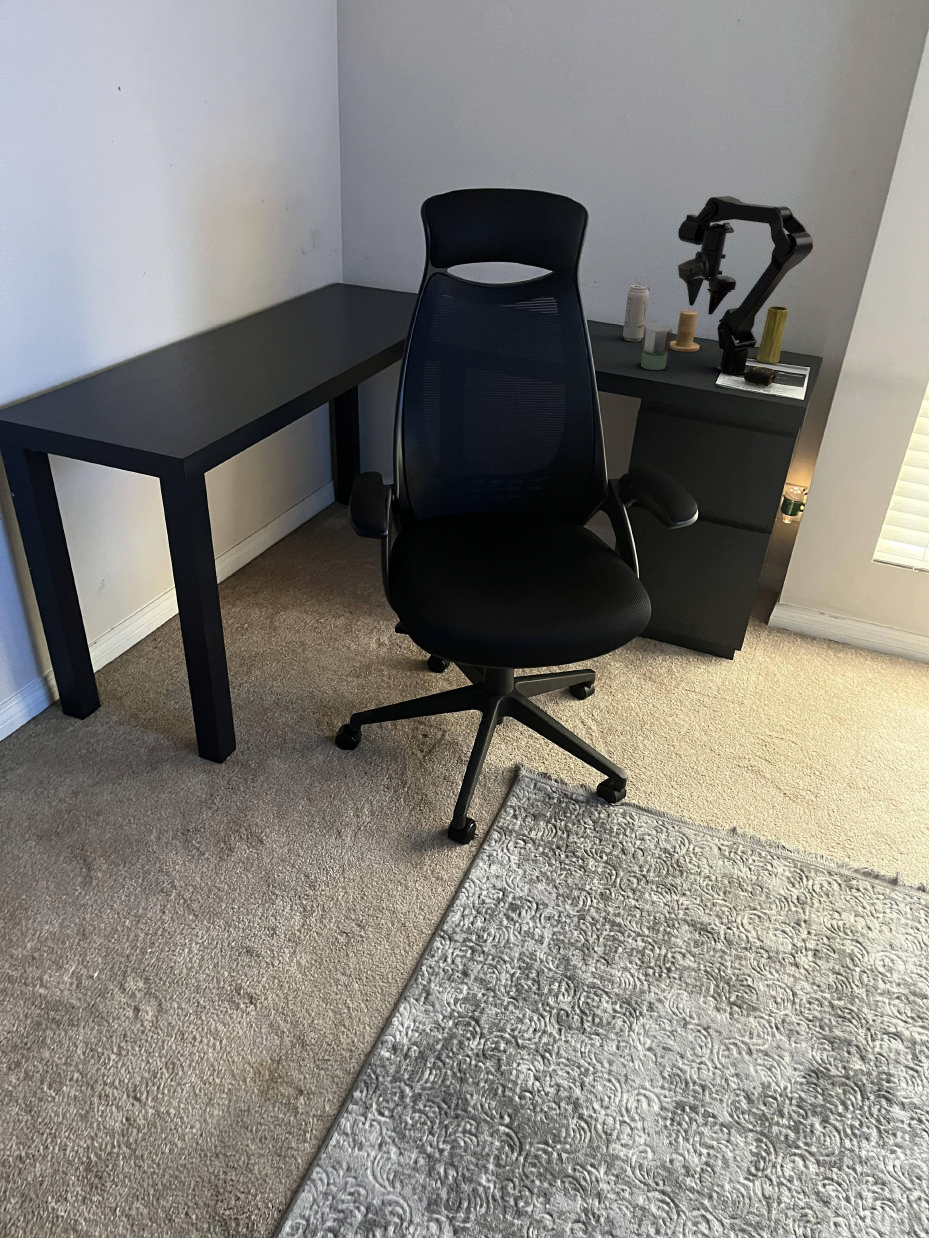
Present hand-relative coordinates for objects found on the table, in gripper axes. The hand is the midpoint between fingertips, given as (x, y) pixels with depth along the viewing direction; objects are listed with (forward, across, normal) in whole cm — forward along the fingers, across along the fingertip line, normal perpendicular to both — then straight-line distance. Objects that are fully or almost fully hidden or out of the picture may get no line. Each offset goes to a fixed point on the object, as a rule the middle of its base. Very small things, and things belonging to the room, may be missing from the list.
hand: (700, 310), depth 239 cm
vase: (+13, +8, +20) cm, 25 cm away
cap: (+9, +4, -15) cm, 18 cm away
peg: (+13, -10, +4) cm, 17 cm away
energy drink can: (+14, -22, -6) cm, 27 cm away
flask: (+13, +4, -15) cm, 20 cm away
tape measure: (+12, +26, +3) cm, 29 cm away
